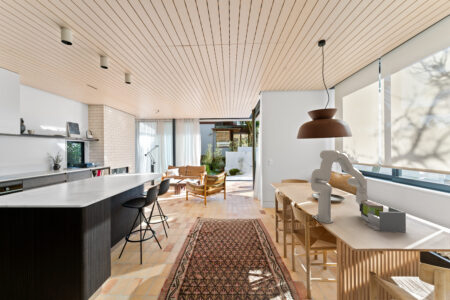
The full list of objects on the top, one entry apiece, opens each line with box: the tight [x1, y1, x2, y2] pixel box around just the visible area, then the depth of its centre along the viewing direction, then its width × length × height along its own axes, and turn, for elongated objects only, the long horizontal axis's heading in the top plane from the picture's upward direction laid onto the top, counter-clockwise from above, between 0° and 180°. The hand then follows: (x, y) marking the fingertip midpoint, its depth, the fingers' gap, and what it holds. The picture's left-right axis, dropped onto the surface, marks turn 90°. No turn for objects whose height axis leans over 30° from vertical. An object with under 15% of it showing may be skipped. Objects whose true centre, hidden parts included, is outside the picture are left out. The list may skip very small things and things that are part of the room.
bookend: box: [364, 213, 381, 232], centre depth 146 cm, size 4×13×9 cm, turn 176°
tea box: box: [360, 200, 384, 222], centre depth 160 cm, size 15×10×15 cm, turn 168°
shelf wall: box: [379, 206, 407, 233], centre depth 145 cm, size 17×14×14 cm
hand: (362, 211), depth 173 cm, fingers closed
